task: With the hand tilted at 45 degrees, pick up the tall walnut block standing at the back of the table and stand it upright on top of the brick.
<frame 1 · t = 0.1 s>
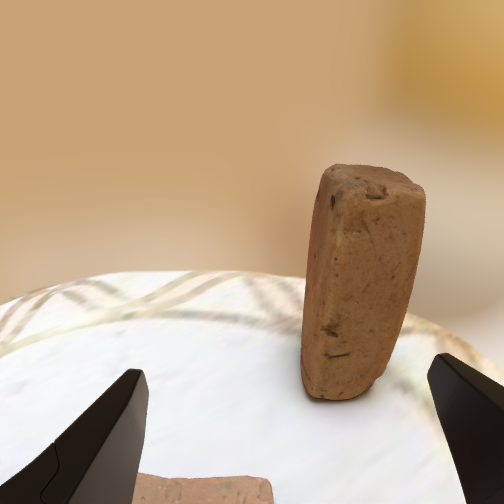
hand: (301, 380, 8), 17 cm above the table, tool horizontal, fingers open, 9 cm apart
block: (332, 369, 31), on the table
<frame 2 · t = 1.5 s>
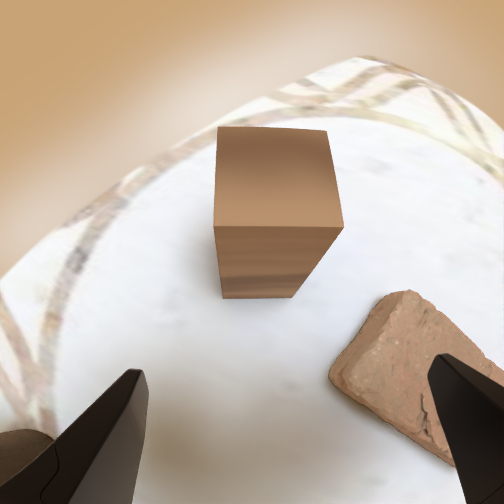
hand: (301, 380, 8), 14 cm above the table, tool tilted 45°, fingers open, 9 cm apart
brick: (423, 392, 21), on the table
walnut block: (256, 265, 24), on the table
pillar candle: (43, 481, 16), on the table
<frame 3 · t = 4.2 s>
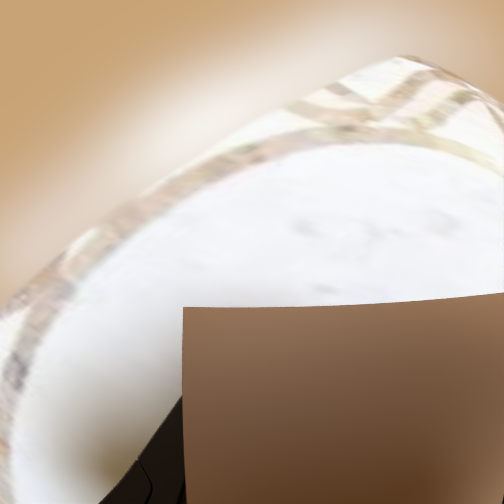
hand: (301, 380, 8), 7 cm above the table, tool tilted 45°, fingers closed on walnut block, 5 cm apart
walnut block: (274, 403, 14), on the table, touching gripper
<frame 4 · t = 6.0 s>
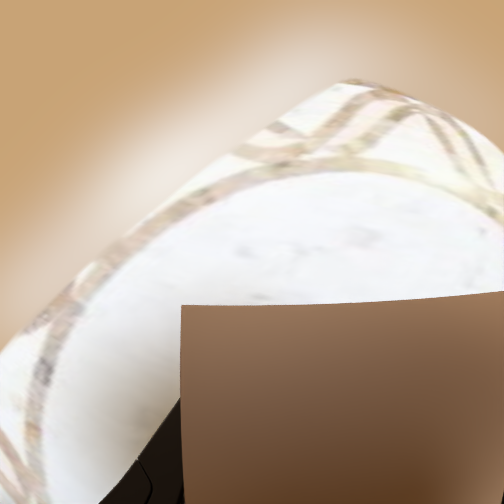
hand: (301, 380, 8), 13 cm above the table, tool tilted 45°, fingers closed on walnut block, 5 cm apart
walnut block: (273, 403, 14), point 7 cm above the table, touching gripper
when the fingers open (12 cm above the table, at t = 7.7 s): walnut block drops 1 cm, resting on brick.
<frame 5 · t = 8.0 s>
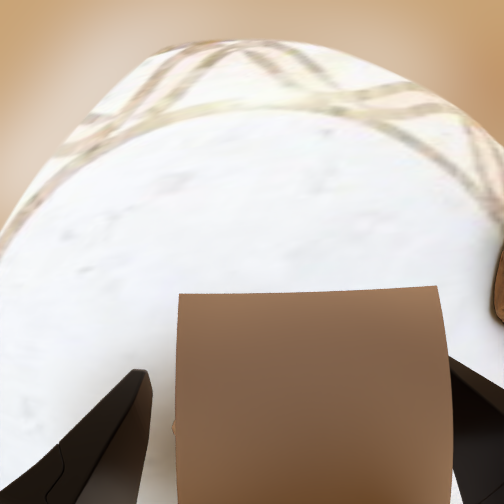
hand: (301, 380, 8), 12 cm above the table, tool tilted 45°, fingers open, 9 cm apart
walnut block: (274, 408, 15), point 4 cm above the table, tilted 6°, touching brick
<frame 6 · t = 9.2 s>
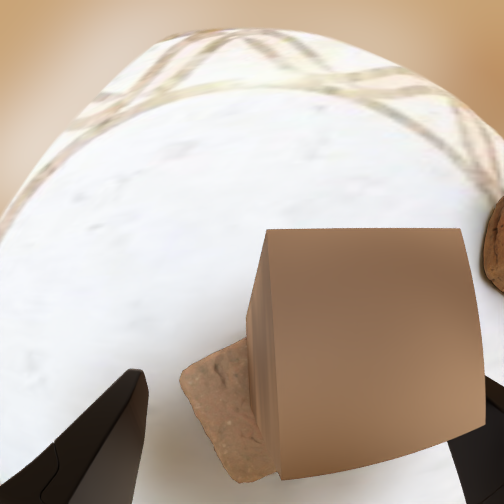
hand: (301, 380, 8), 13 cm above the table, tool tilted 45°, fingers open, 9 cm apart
block: (502, 251, 25), on the table
brick: (311, 372, 21), on the table, touching walnut block
walnut block: (292, 360, 17), point 4 cm above the table, touching brick
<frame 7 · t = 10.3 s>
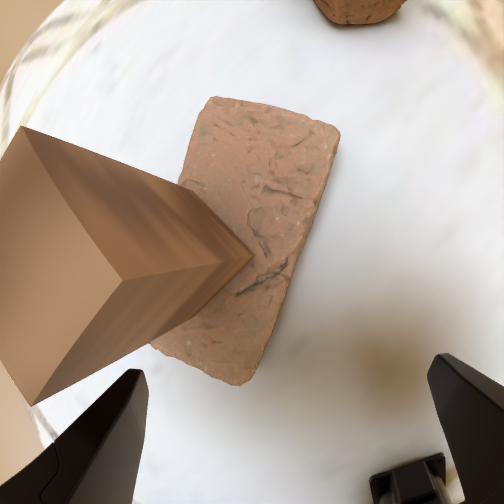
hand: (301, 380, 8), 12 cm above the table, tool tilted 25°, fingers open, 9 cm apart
brick: (243, 242, 22), on the table
walnut block: (192, 254, 18), point 4 cm above the table
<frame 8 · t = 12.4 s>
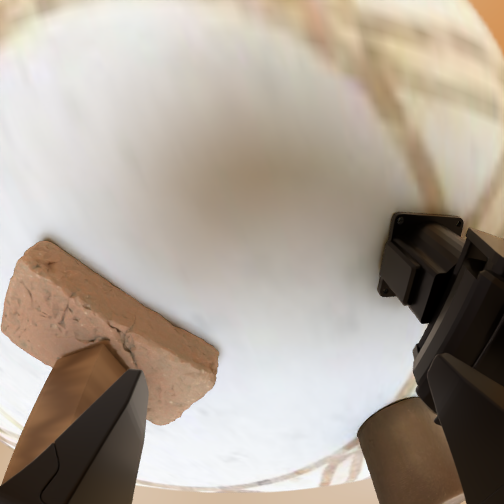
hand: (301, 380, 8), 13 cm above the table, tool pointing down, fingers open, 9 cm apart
brick: (113, 323, 24), on the table, touching walnut block
walnut block: (100, 376, 20), point 4 cm above the table, touching brick
pillar candle: (395, 421, 31), on the table
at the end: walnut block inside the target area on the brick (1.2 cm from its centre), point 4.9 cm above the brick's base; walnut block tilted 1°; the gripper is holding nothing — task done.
